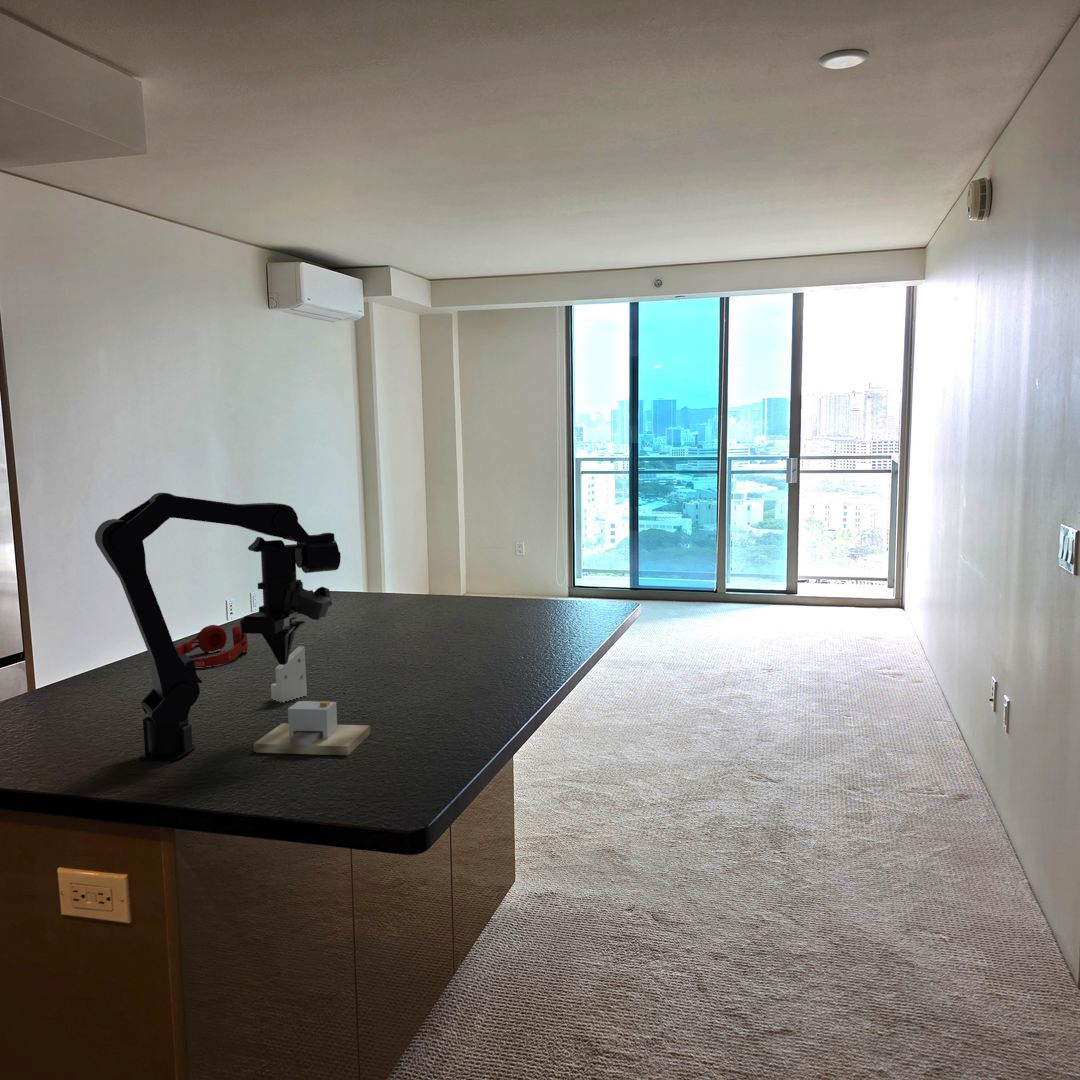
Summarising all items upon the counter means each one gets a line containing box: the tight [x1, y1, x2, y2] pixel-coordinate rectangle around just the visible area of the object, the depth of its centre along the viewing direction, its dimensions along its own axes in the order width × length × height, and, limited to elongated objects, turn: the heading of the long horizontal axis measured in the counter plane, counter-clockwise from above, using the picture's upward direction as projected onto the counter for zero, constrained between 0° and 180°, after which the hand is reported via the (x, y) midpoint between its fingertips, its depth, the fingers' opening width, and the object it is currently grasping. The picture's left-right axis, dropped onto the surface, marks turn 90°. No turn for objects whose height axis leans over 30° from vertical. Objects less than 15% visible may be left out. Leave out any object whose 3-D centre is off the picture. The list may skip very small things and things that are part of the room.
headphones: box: [175, 624, 249, 667], centre depth 216 cm, size 15×7×20 cm
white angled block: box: [270, 645, 308, 703], centre depth 181 cm, size 4×10×9 cm, turn 141°
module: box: [287, 700, 338, 739], centre depth 152 cm, size 7×4×6 cm
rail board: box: [253, 722, 371, 756], centre depth 152 cm, size 16×11×2 cm
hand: (283, 664), depth 158 cm, fingers closed
